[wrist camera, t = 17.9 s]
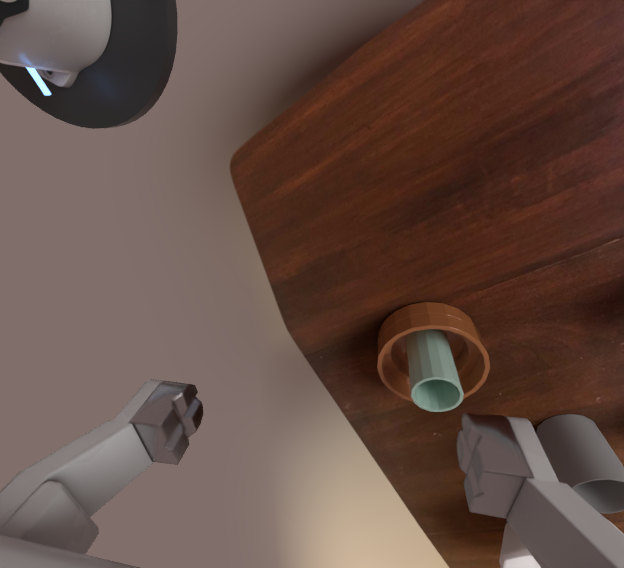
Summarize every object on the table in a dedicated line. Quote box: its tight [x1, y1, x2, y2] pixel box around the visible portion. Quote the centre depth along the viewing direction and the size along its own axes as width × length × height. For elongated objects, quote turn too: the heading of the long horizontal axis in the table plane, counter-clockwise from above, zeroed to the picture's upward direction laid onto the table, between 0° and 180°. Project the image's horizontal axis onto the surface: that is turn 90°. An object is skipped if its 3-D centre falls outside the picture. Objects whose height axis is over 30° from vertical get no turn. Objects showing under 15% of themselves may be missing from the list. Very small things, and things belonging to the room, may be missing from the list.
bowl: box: [499, 519, 624, 568], centre depth 57 cm, size 22×22×12 cm
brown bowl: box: [377, 302, 490, 402], centre depth 45 cm, size 14×14×6 cm
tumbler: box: [406, 329, 464, 412], centre depth 43 cm, size 6×6×10 cm
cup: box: [536, 414, 624, 513], centre depth 47 cm, size 8×8×10 cm
